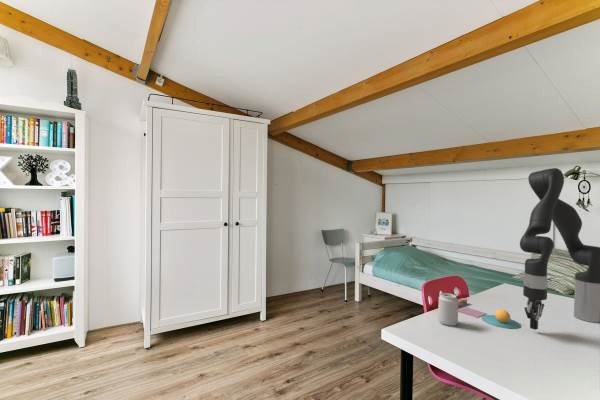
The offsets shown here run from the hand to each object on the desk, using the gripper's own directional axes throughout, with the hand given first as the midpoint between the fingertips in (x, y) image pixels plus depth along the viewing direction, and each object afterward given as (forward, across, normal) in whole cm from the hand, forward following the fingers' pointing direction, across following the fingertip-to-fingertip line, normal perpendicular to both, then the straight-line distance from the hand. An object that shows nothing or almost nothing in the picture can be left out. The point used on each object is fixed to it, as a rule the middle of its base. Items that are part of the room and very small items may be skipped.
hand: (533, 328), depth 120 cm
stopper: (+2, 0, -32) cm, 33 cm away
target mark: (+2, 0, -12) cm, 12 cm away
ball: (-1, 0, -11) cm, 11 cm away
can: (+2, +22, -23) cm, 32 cm away
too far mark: (+2, 0, -24) cm, 24 cm away
